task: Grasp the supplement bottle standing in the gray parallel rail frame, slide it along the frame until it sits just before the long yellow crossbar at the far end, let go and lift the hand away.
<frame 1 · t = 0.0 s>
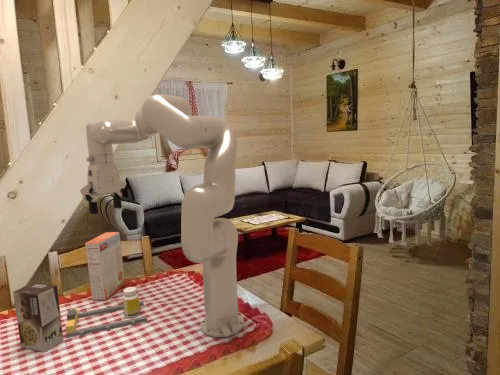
hand: (106, 210, 124), 31 cm above the table, tool pointing down, fingers open, 9 cm apart
cracker box: (108, 292, 134), on the table
coffee box: (42, 344, 101), on the table
long yellow crossbar: (72, 326, 110), on the table
supplement bottle: (132, 315, 116), on the table
gray parallel rail frame: (108, 319, 114), on the table
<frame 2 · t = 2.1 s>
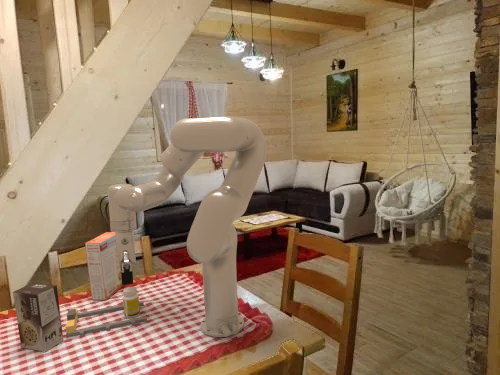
hand: (126, 278, 115), 12 cm above the table, tool pointing down, fingers open, 9 cm apart
nothing on the table moved.
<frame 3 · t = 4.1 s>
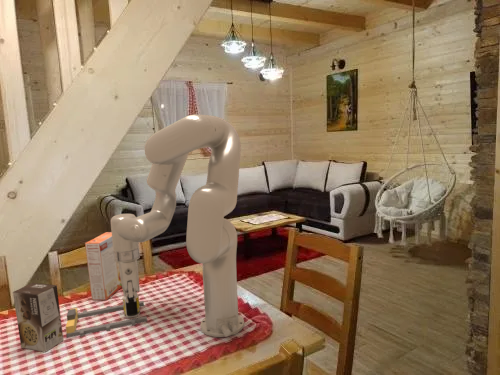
hand: (131, 309, 116), 2 cm above the table, tool pointing down, fingers closed on supplement bottle, 4 cm apart
supplement bottle: (132, 315, 116), on the table, touching gripper
everything else where it was.
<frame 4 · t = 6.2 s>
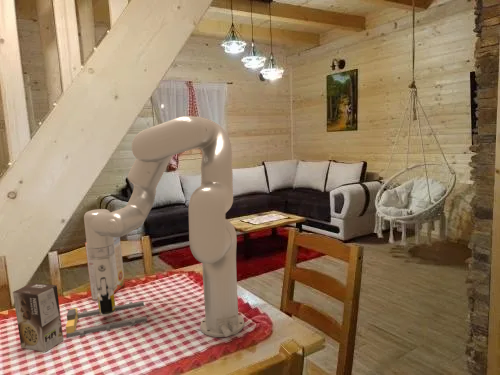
hand: (106, 307, 113), 4 cm above the table, tool pointing down, fingers closed on supplement bottle, 4 cm apart
supplement bottle: (107, 313, 113), point 2 cm above the table, touching gripper
everything else where it was.
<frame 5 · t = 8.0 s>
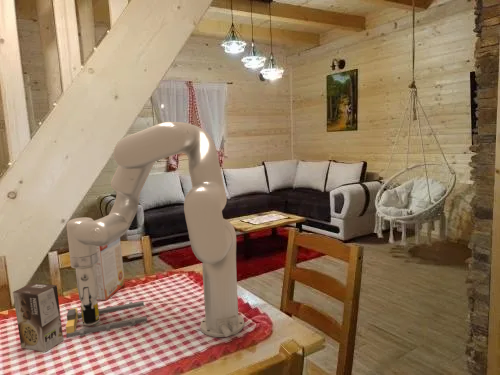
hand: (90, 316, 112), 2 cm above the table, tool pointing down, fingers closed on supplement bottle, 4 cm apart
supplement bottle: (91, 322, 112), on the table, touching gripper
everything else where it was.
when the fingers open (2 cm above the table, at t = 8.7 s): supplement bottle stays where it is, on the table.
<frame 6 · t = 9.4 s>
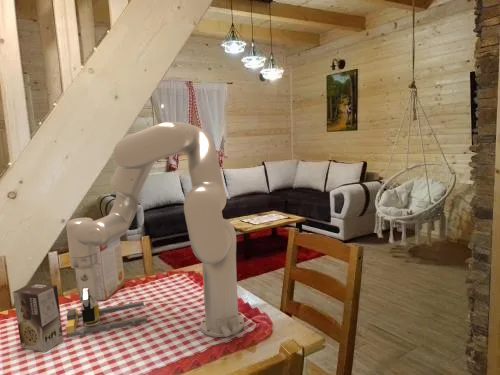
hand: (90, 314, 112), 3 cm above the table, tool pointing down, fingers open, 9 cm apart
supplement bottle: (91, 323, 112), on the table
everything else where it was.
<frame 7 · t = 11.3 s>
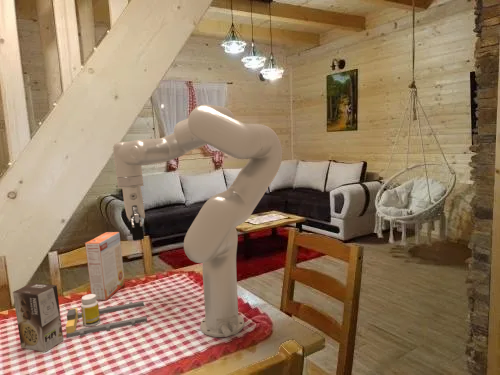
hand: (136, 236, 115), 25 cm above the table, tool pointing down, fingers open, 9 cm apart
nothing on the table moved.
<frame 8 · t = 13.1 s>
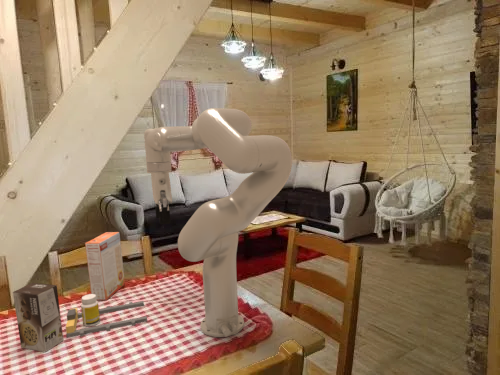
hand: (163, 220, 119), 28 cm above the table, tool pointing down, fingers open, 9 cm apart
nothing on the table moved.
at the end: supplement bottle inside the target area (0.6 cm from its centre), on the table; supplement bottle tilted 0°; the gripper is holding nothing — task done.
